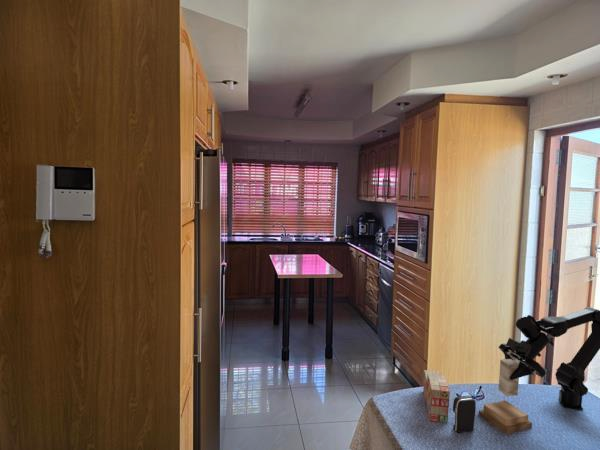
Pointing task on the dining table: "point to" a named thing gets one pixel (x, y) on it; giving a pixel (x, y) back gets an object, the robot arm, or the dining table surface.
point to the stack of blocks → (436, 396)
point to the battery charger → (464, 413)
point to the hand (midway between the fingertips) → (505, 376)
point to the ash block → (508, 377)
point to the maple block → (505, 413)
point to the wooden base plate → (501, 427)
